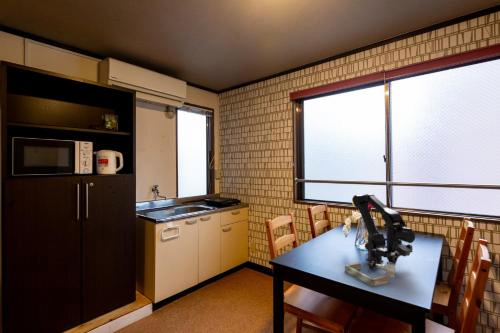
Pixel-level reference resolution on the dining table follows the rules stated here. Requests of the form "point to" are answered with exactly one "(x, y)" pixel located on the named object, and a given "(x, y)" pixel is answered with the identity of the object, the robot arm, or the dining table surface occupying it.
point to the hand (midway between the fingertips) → (392, 267)
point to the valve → (383, 267)
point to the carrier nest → (371, 281)
